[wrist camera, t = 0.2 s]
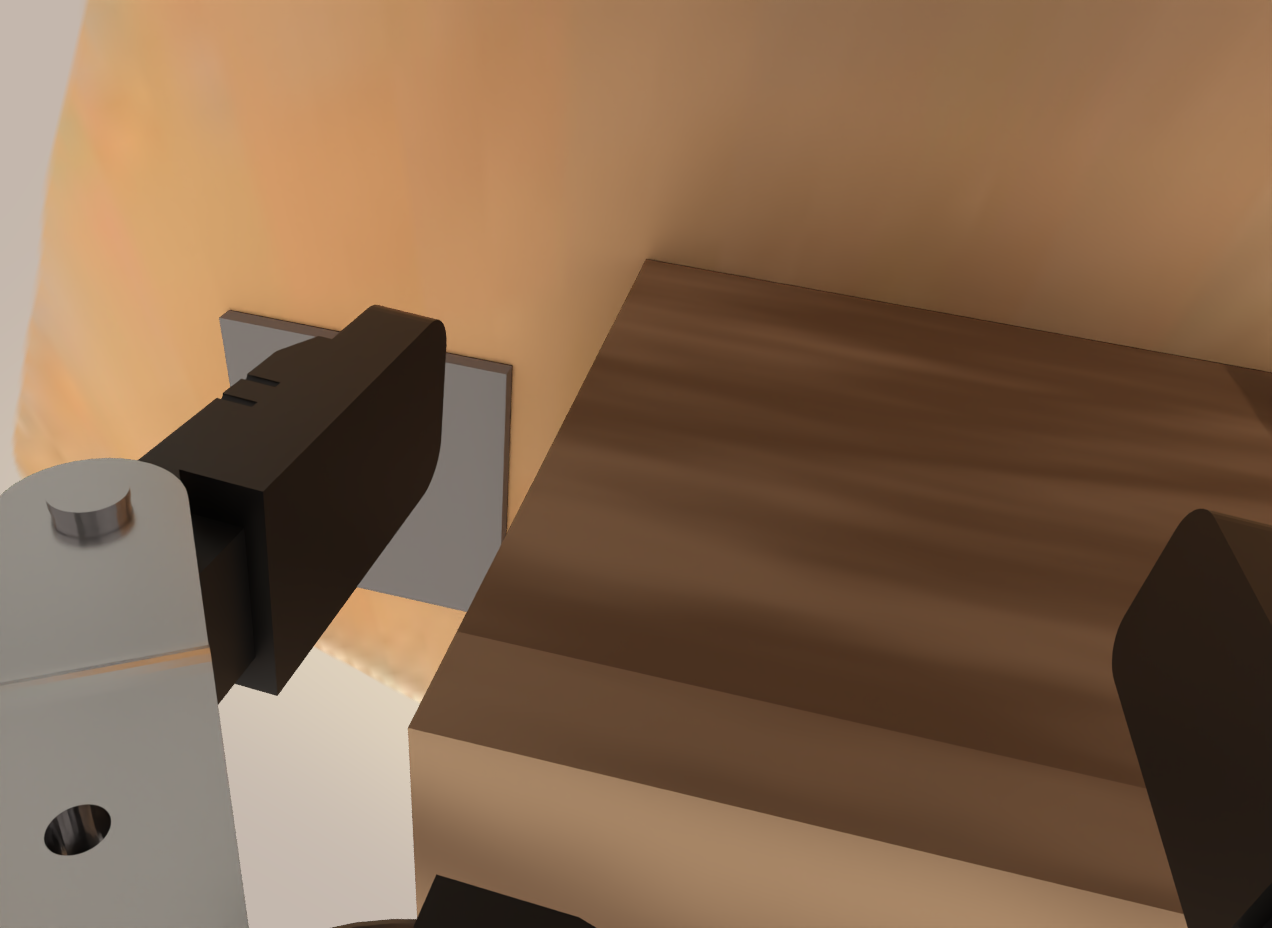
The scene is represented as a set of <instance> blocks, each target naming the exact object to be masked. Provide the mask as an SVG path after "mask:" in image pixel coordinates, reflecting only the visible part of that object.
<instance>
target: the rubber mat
mask: <svg viewBox="0 0 1272 928" xmlns="http://www.w3.org/2000/svg"><path fill="white" fill-rule="evenodd" d="M219 320H220V326H221V332H222V338H223V345H224V351H225V357H226V363H227V369H228V375H229V382H230V387H231V386H233V385H234V384H235V383H236V382H238V381H239V380H240V379H245V380H246V378H247V374H248V373H249V372H250V371H251V370H253V369H254V368H255V367H257V366H258V365H259V364H260V363H262V362H263V361H264V360H265V359H267V358H268V357H269V356H270V355H272V354H273V353H274V352H276V351H278V350H280V349H283V348H286V347H289V346H292V345H294V344H297V343H300V342H303V341H306V340H308V339H311V338H314V337H317V336H322V337H326V338H330V339H333V338H334V337H335V336H336V335H337V334H338V333H340V332H337V331H332V330H327V329H322V328H317V327H312V326H307V325H302V324H296V323H291V322H286V321H281V320H276V319H271V318H266V317H261V316H256V315H251V314H246V313H241V312H235V311H230V310H229V311H227V312H226V313H225V314H223V315H222V316H221V317H219ZM511 384H512V366H510V365H505V364H500V363H495V362H490V361H485V360H480V359H475V358H470V357H464V356H459V355H454V354H449V353H446V363H445V381H444V399H443V418H442V436H441V447H440V453H439V458H438V462H437V466H436V469H435V472H434V475H433V478H432V480H431V483H430V485H429V487H428V489H427V491H426V493H425V494H424V496H423V497H422V498H421V500H420V501H419V503H418V504H417V505H416V507H415V508H414V509H413V511H412V512H411V514H410V515H409V516H408V518H407V519H406V520H405V522H404V523H403V524H402V526H401V527H400V529H399V530H398V531H397V533H396V534H395V535H394V537H393V538H392V540H391V541H390V542H389V544H388V545H387V546H386V548H385V549H384V551H383V552H382V553H381V555H380V556H379V557H378V559H377V560H376V561H375V563H374V564H373V566H372V567H371V568H370V570H369V571H368V572H367V574H366V575H365V577H364V578H363V579H362V581H361V582H360V583H359V585H358V586H357V587H359V588H363V589H368V590H372V591H377V592H381V593H385V594H390V595H394V596H399V597H403V598H408V599H412V600H416V601H421V602H425V603H430V604H434V605H439V606H443V607H448V608H452V609H456V610H461V611H465V612H467V611H468V609H469V607H470V605H471V603H472V601H473V599H474V597H475V595H476V593H477V591H478V589H479V587H480V585H481V583H482V581H483V579H484V577H485V575H486V573H487V572H488V570H489V568H490V566H491V564H492V562H493V560H494V558H495V556H496V554H497V552H498V550H499V548H500V546H501V544H502V542H503V540H504V538H505V536H506V525H507V497H508V469H509V441H510V412H511Z"/></svg>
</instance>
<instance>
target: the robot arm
mask: <svg viewBox="0 0 1272 928" xmlns="http://www.w3.org/2000/svg"><path fill="white" fill-rule="evenodd" d="M445 363H446V331H445V327H444V324H443V323H442V322H441V321H440V320H437V319H433V318H429V317H425V316H420V315H416V314H412V313H408V312H404V311H400V310H396V309H392V308H388V307H384V306H380V305H373V306H371V307H369V308H368V309H367V310H365V311H364V312H363V313H362V314H361V315H360V316H358V317H357V318H356V319H355V320H354V321H353V322H351V323H350V324H349V325H348V326H347V327H345V328H344V329H343V330H342V331H341V332H340V333H338V334H337V335H336V336H335V337H334V338H333V339H330V338H326V337H322V336H317V337H314V338H311V339H308V340H306V341H303V342H300V343H297V344H294V345H292V346H289V347H286V348H283V349H280V350H278V351H276V352H274V353H273V354H272V355H270V356H269V357H268V358H267V359H265V360H264V361H263V362H262V363H260V364H259V365H258V366H257V367H255V368H254V369H253V370H251V371H250V372H249V373H248V374H247V378H246V380H245V379H240V380H239V381H238V382H236V383H235V384H234V385H233V386H231V387H230V388H229V389H227V390H226V391H225V392H224V393H223V397H222V399H219V398H216V399H215V400H214V401H212V402H211V403H210V404H208V405H207V406H206V407H205V408H203V409H202V410H201V411H200V412H198V413H197V414H196V415H195V416H193V417H192V418H191V419H190V420H188V421H187V422H186V423H184V424H183V425H182V426H181V427H179V428H178V429H177V430H176V431H174V432H173V433H172V434H171V435H169V436H168V437H167V438H165V439H164V440H163V441H162V442H160V443H159V444H158V445H157V446H155V447H154V448H153V449H152V450H150V451H149V452H148V453H147V454H145V455H144V456H143V457H141V458H140V459H139V460H130V459H119V458H101V459H88V460H81V461H74V462H69V463H65V464H61V465H57V466H54V467H51V468H47V469H44V470H42V471H39V472H37V473H35V474H32V475H30V476H28V477H26V478H24V479H22V480H21V481H19V482H17V483H15V484H14V485H13V486H11V487H10V488H9V489H8V490H6V491H5V492H3V493H2V495H1V496H0V928H249V926H248V919H247V912H246V904H245V897H244V890H243V883H242V875H241V869H240V862H239V854H238V847H237V839H236V832H235V826H234V818H233V810H232V804H231V796H230V789H229V782H228V775H227V768H226V760H225V753H224V746H223V738H222V732H221V725H220V717H219V710H218V704H219V703H220V701H221V700H222V699H223V698H224V696H225V695H226V694H227V693H228V691H229V690H230V689H231V687H232V686H233V685H234V684H238V685H241V686H245V687H248V688H252V689H255V690H259V691H262V692H266V693H269V694H273V695H276V696H277V695H278V694H279V693H280V692H281V690H282V689H283V687H284V686H285V685H286V683H287V682H288V681H289V679H290V678H291V676H292V675H293V674H294V672H295V671H296V670H297V668H298V667H299V666H300V664H301V663H302V661H303V660H304V658H305V657H306V656H307V655H308V653H309V652H310V650H311V649H312V648H313V646H314V645H315V644H316V642H317V641H318V640H319V638H320V637H321V635H322V634H323V633H324V631H325V630H326V629H327V627H328V626H329V624H330V623H331V622H332V620H333V619H334V618H335V616H336V615H337V614H338V612H339V611H340V609H341V608H342V607H343V605H344V604H345V603H346V601H347V600H348V598H349V597H350V596H351V594H352V593H353V592H354V590H355V589H356V587H357V586H358V585H359V583H360V582H361V581H362V579H363V578H364V577H365V575H366V574H367V572H368V571H369V570H370V568H371V567H372V566H373V564H374V563H375V561H376V560H377V559H378V557H379V556H380V555H381V553H382V552H383V551H384V549H385V548H386V546H387V545H388V544H389V542H390V541H391V540H392V538H393V537H394V535H395V534H396V533H397V531H398V530H399V529H400V527H401V526H402V524H403V523H404V522H405V520H406V519H407V518H408V516H409V515H410V514H411V512H412V511H413V509H414V508H415V507H416V505H417V504H418V503H419V501H420V500H421V498H422V497H423V496H424V494H425V493H426V491H427V489H428V487H429V485H430V483H431V480H432V478H433V475H434V472H435V469H436V466H437V462H438V458H439V453H440V447H441V436H442V418H443V399H444V381H445ZM1112 673H1113V678H1114V682H1115V685H1116V689H1117V692H1118V695H1119V699H1120V702H1121V706H1122V709H1123V712H1124V716H1125V719H1126V722H1127V726H1128V729H1129V732H1130V736H1131V739H1132V742H1133V746H1134V749H1135V753H1136V756H1137V759H1138V763H1139V766H1140V769H1141V773H1142V776H1143V779H1144V783H1145V786H1146V789H1147V793H1148V796H1149V800H1150V803H1151V806H1152V810H1153V813H1154V816H1155V820H1156V823H1157V826H1158V830H1159V833H1160V836H1161V840H1162V843H1163V847H1164V850H1165V853H1166V857H1167V860H1168V863H1169V867H1170V870H1171V873H1172V877H1173V880H1174V883H1175V887H1176V890H1177V893H1178V897H1179V900H1180V904H1181V907H1182V910H1183V914H1184V917H1185V920H1186V924H1187V927H1188V928H1272V525H1268V524H1264V523H1260V522H1256V521H1252V520H1248V519H1244V518H1240V517H1236V516H1232V515H1228V514H1223V513H1219V512H1215V511H1211V510H1207V509H1196V510H1194V511H1192V512H1190V513H1189V514H1188V515H1187V516H1185V517H1184V519H1183V520H1182V521H1181V522H1180V523H1179V525H1178V526H1177V528H1176V529H1175V531H1174V533H1173V535H1172V536H1171V538H1170V540H1169V541H1168V543H1167V545H1166V546H1165V548H1164V550H1163V551H1162V553H1161V555H1160V556H1159V558H1158V560H1157V561H1156V563H1155V565H1154V566H1153V568H1152V570H1151V572H1150V573H1149V575H1148V577H1147V578H1146V580H1145V582H1144V583H1143V585H1142V587H1141V588H1140V590H1139V592H1138V593H1137V595H1136V597H1135V598H1134V600H1133V602H1132V603H1131V605H1130V607H1129V609H1128V610H1127V612H1126V614H1125V615H1124V617H1123V619H1122V621H1121V623H1120V625H1119V628H1118V630H1117V634H1116V637H1115V641H1114V645H1113V652H1112ZM333 928H596V927H594V926H593V925H591V924H589V923H588V922H586V921H584V920H583V919H581V918H579V917H577V916H574V915H570V914H567V913H564V912H560V911H557V910H554V909H550V908H547V907H544V906H540V905H537V904H534V903H530V902H527V901H524V900H520V899H517V898H514V897H510V896H507V895H504V894H500V893H497V892H494V891H490V890H487V889H484V888H480V887H477V886H474V885H470V884H467V883H464V882H460V881H457V880H454V879H450V878H447V877H444V876H440V875H437V874H436V876H435V879H434V881H433V883H432V885H431V888H430V890H429V892H428V894H427V897H426V899H425V901H424V904H423V906H422V908H421V910H420V913H419V915H418V917H417V919H389V920H378V921H368V922H357V923H351V924H347V925H342V926H337V927H333Z"/></svg>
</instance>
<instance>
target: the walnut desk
mask: <svg viewBox="0 0 1272 928" xmlns="http://www.w3.org/2000/svg"><path fill="white" fill-rule="evenodd" d="M1196 509H1207V510H1211V511H1215V512H1219V513H1223V514H1228V515H1232V516H1236V517H1240V518H1244V519H1248V520H1252V521H1256V522H1260V523H1264V524H1268V525H1272V373H1269V372H1264V371H1258V370H1253V369H1247V368H1242V367H1236V366H1231V365H1225V364H1220V363H1214V362H1209V361H1203V360H1198V359H1192V358H1187V357H1181V356H1176V355H1170V354H1165V353H1159V352H1154V351H1148V350H1143V349H1137V348H1132V347H1126V346H1121V345H1115V344H1110V343H1104V342H1099V341H1093V340H1088V339H1082V338H1077V337H1071V336H1066V335H1060V334H1055V333H1049V332H1044V331H1038V330H1033V329H1027V328H1022V327H1016V326H1011V325H1005V324H1000V323H994V322H989V321H983V320H978V319H972V318H967V317H961V316H956V315H950V314H945V313H939V312H934V311H928V310H923V309H917V308H912V307H906V306H901V305H895V304H890V303H884V302H879V301H873V300H868V299H862V298H857V297H851V296H846V295H840V294H835V293H829V292H824V291H818V290H813V289H807V288H802V287H796V286H791V285H785V284H780V283H774V282H769V281H763V280H758V279H752V278H747V277H741V276H735V275H730V274H724V273H719V272H713V271H708V270H702V269H697V268H691V267H686V266H680V265H675V264H669V263H664V262H658V261H653V260H647V259H646V261H645V263H644V265H643V267H642V269H641V271H640V272H639V274H638V276H637V278H636V280H635V282H634V284H633V286H632V288H631V290H630V292H629V294H628V296H627V298H626V300H625V302H624V304H623V306H622V308H621V310H620V312H619V314H618V316H617V318H616V320H615V322H614V324H613V326H612V328H611V330H610V332H609V333H608V335H607V337H606V339H605V341H604V343H603V345H602V347H601V349H600V351H599V353H598V355H597V357H596V359H595V361H594V363H593V365H592V367H591V369H590V371H589V373H588V375H587V377H586V379H585V381H584V383H583V385H582V387H581V389H580V391H579V392H578V394H577V396H576V398H575V400H574V402H573V404H572V406H571V408H570V410H569V412H568V414H567V416H566V418H565V420H564V422H563V424H562V426H561V428H560V430H559V432H558V434H557V436H556V438H555V440H554V442H553V444H552V446H551V448H550V450H549V452H548V453H547V455H546V457H545V459H544V461H543V463H542V465H541V467H540V469H539V471H538V473H537V475H536V477H535V479H534V481H533V483H532V485H531V487H530V489H529V491H528V493H527V495H526V497H525V499H524V501H523V503H522V505H521V507H520V509H519V511H518V512H517V514H516V516H515V518H514V520H513V522H512V524H511V526H510V528H509V530H508V532H507V534H506V536H505V538H504V540H503V542H502V544H501V546H500V548H499V550H498V552H497V554H496V556H495V558H494V560H493V562H492V564H491V566H490V568H489V570H488V572H487V573H486V575H485V577H484V579H483V581H482V583H481V585H480V587H479V589H478V591H477V593H476V595H475V597H474V599H473V601H472V603H471V605H470V607H469V609H468V611H467V613H466V615H465V617H464V619H463V621H462V623H461V625H460V627H459V629H458V631H457V633H456V634H455V636H454V638H453V640H452V642H451V644H450V646H449V648H448V650H447V652H446V654H445V656H444V658H443V660H442V662H441V664H440V666H439V668H438V670H437V672H436V674H435V676H434V678H433V680H432V682H431V684H430V686H429V688H428V690H427V692H426V693H425V695H424V697H423V699H422V701H421V703H420V705H419V707H418V710H417V712H416V713H415V715H414V717H413V719H412V721H411V723H410V725H409V727H408V736H409V757H410V777H411V797H412V818H413V839H414V860H415V881H416V901H417V917H418V915H419V913H420V910H421V908H422V906H423V904H424V901H425V899H426V897H427V894H428V892H429V890H430V888H431V885H432V883H433V881H434V879H435V876H436V874H437V875H440V876H444V877H447V878H450V879H454V880H457V881H460V882H464V883H467V884H470V885H474V886H477V887H480V888H484V889H487V890H490V891H494V892H497V893H500V894H504V895H507V896H510V897H514V898H517V899H520V900H524V901H527V902H530V903H534V904H537V905H540V906H544V907H547V908H550V909H554V910H557V911H560V912H564V913H567V914H570V915H574V916H577V917H579V918H581V919H583V920H584V921H586V922H588V923H589V924H591V925H593V926H594V927H596V928H1188V927H1187V924H1186V920H1185V917H1184V914H1183V910H1182V907H1181V904H1180V900H1179V897H1178V893H1177V890H1176V887H1175V883H1174V880H1173V877H1172V873H1171V870H1170V867H1169V863H1168V860H1167V857H1166V853H1165V850H1164V847H1163V843H1162V840H1161V836H1160V833H1159V830H1158V826H1157V823H1156V820H1155V816H1154V813H1153V810H1152V806H1151V803H1150V800H1149V796H1148V793H1147V789H1146V786H1145V783H1144V779H1143V776H1142V773H1141V769H1140V766H1139V763H1138V759H1137V756H1136V753H1135V749H1134V746H1133V742H1132V739H1131V736H1130V732H1129V729H1128V726H1127V722H1126V719H1125V716H1124V712H1123V709H1122V706H1121V702H1120V699H1119V695H1118V692H1117V689H1116V685H1115V682H1114V678H1113V673H1112V652H1113V645H1114V641H1115V637H1116V634H1117V630H1118V628H1119V625H1120V623H1121V621H1122V619H1123V617H1124V615H1125V614H1126V612H1127V610H1128V609H1129V607H1130V605H1131V603H1132V602H1133V600H1134V598H1135V597H1136V595H1137V593H1138V592H1139V590H1140V588H1141V587H1142V585H1143V583H1144V582H1145V580H1146V578H1147V577H1148V575H1149V573H1150V572H1151V570H1152V568H1153V566H1154V565H1155V563H1156V561H1157V560H1158V558H1159V556H1160V555H1161V553H1162V551H1163V550H1164V548H1165V546H1166V545H1167V543H1168V541H1169V540H1170V538H1171V536H1172V535H1173V533H1174V531H1175V529H1176V528H1177V526H1178V525H1179V523H1180V522H1181V521H1182V520H1183V519H1184V517H1185V516H1187V515H1188V514H1189V513H1190V512H1192V511H1194V510H1196Z"/></svg>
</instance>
